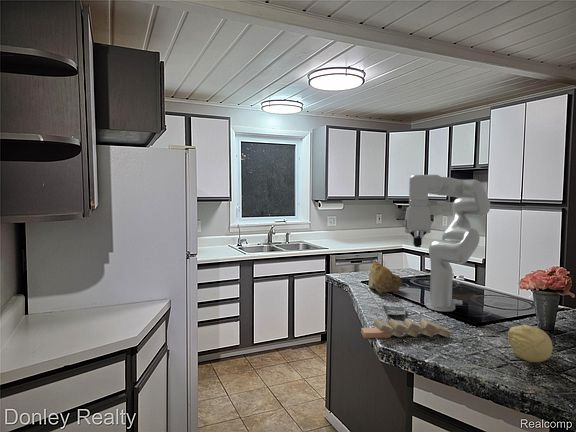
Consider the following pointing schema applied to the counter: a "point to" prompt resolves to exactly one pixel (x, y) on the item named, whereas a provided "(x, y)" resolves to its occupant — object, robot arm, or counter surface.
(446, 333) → the domino
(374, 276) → the rough brown rock
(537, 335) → the yellow oval melon
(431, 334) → the domino
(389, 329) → the domino
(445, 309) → the robot arm
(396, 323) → the domino
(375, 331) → the domino
